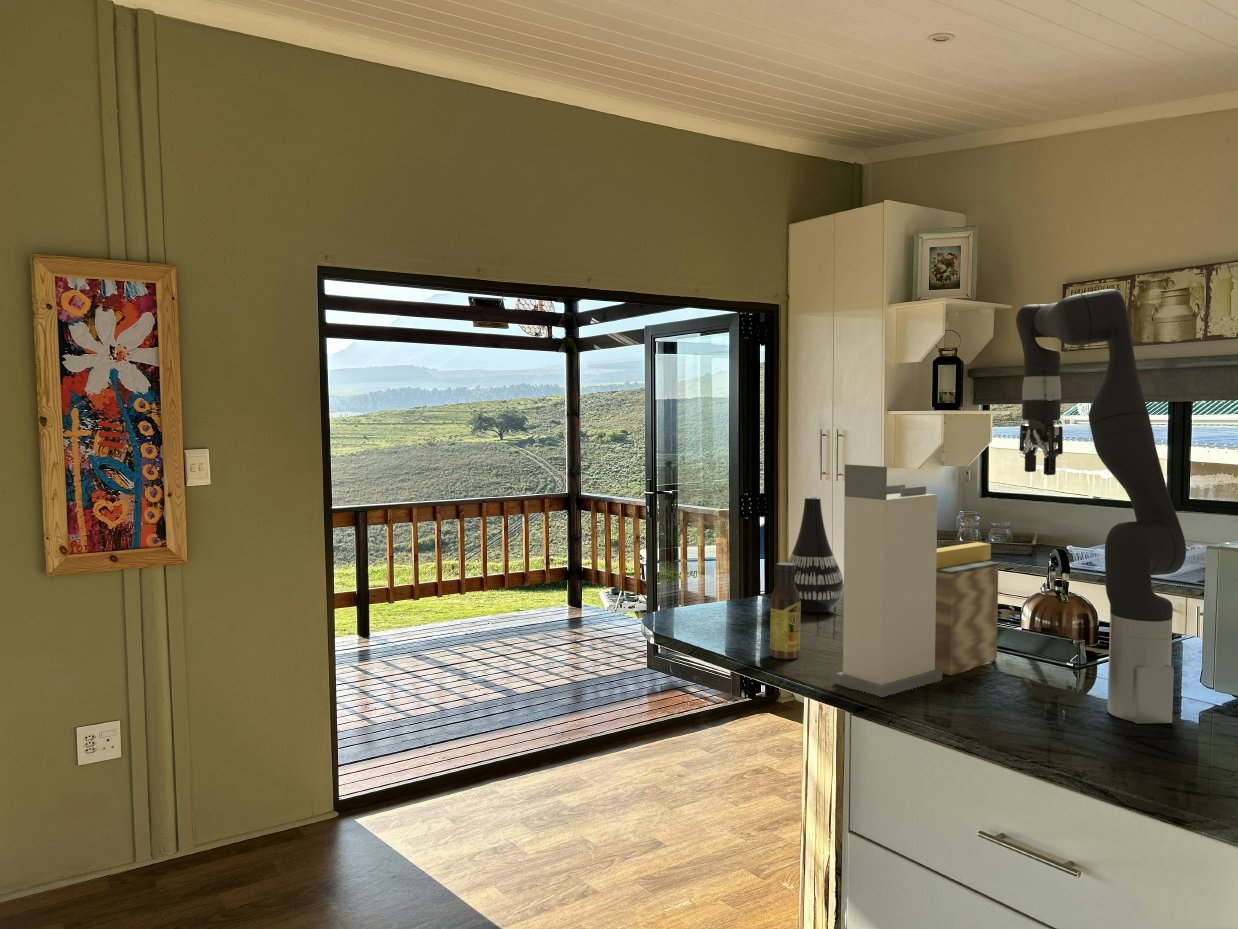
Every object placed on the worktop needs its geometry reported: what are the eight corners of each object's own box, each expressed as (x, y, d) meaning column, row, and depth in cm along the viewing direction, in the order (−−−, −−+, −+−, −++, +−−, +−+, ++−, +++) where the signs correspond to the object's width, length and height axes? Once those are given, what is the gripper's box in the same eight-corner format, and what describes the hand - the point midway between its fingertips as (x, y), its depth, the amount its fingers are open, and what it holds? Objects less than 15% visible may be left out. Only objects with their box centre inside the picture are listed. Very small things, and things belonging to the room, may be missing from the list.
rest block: (950, 675, 181) (951, 571, 180) (911, 665, 188) (912, 565, 187) (996, 661, 191) (998, 562, 189) (958, 652, 198) (959, 557, 197)
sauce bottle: (793, 662, 191) (793, 567, 190) (765, 658, 195) (765, 564, 193) (804, 655, 197) (805, 562, 196) (777, 651, 200) (777, 560, 199)
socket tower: (882, 698, 168) (885, 467, 165) (835, 683, 176) (837, 464, 174) (942, 680, 178) (945, 463, 175) (895, 667, 187) (897, 460, 184)
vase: (779, 604, 247) (780, 494, 245) (840, 605, 245) (841, 495, 243) (781, 617, 231) (782, 500, 229) (846, 619, 229) (847, 501, 227)
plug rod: (921, 572, 180) (921, 549, 180) (902, 568, 183) (902, 546, 183) (993, 559, 194) (993, 538, 193) (974, 556, 197) (974, 536, 197)
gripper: (1009, 398, 205) (1007, 471, 206) (1040, 397, 191) (1038, 476, 192) (1042, 398, 205) (1040, 471, 206) (1076, 397, 191) (1074, 475, 192)
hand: (1039, 473), depth 199 cm, fingers open, 8 cm apart
